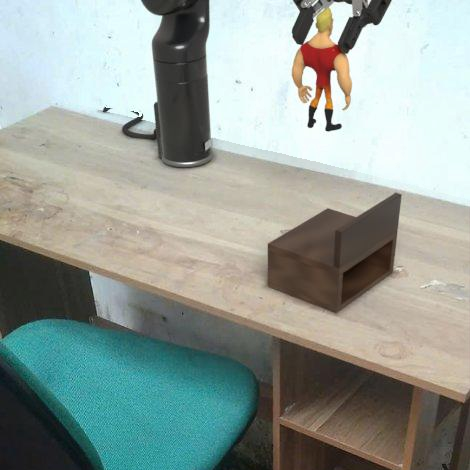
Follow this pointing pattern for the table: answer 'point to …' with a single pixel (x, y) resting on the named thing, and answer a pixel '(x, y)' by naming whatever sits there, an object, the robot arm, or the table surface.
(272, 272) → the shelf
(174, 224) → the table surface
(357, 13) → the robot arm
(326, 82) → the action figure
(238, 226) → the table surface
